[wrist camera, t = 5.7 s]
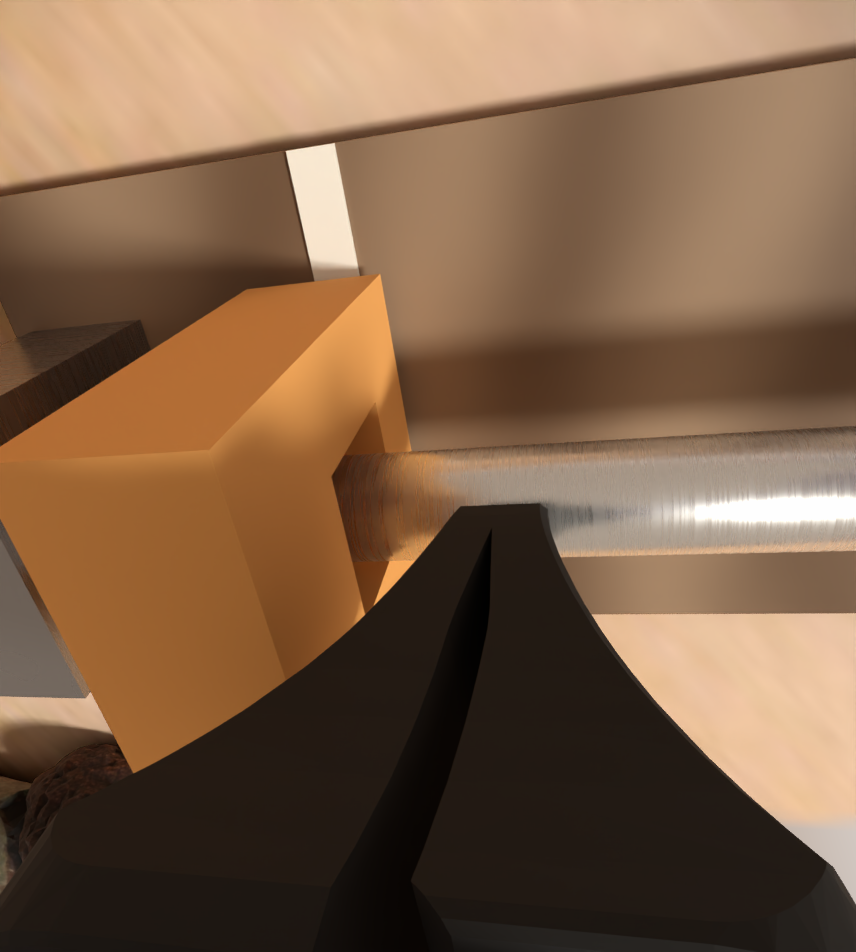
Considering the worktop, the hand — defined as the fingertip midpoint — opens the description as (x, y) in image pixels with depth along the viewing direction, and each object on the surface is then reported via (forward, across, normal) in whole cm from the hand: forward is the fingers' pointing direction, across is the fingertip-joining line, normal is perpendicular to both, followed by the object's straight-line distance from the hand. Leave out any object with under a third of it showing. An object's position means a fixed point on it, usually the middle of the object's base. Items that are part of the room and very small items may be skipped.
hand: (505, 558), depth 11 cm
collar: (+5, +4, 0) cm, 7 cm away
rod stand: (+7, -1, 0) cm, 7 cm away
